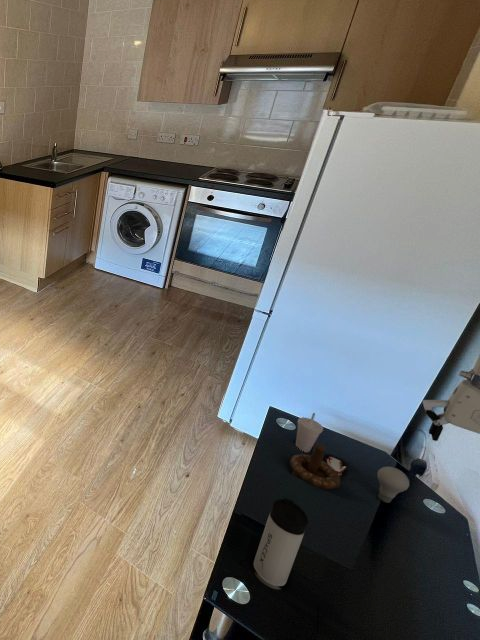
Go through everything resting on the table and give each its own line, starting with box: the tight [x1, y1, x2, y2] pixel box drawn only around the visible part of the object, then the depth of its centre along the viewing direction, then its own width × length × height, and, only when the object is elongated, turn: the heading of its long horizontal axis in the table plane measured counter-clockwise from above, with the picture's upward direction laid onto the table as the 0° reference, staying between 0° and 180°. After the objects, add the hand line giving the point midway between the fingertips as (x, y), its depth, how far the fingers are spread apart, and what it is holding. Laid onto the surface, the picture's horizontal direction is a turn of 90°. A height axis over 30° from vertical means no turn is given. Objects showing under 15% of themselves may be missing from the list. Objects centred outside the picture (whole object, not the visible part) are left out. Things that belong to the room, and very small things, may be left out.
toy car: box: [324, 456, 348, 477], centre depth 124 cm, size 5×8×3 cm, turn 134°
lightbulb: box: [377, 466, 410, 504], centre depth 112 cm, size 6×6×11 cm
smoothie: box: [295, 412, 324, 453], centre depth 130 cm, size 6×6×14 cm
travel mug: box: [253, 497, 309, 591], centre depth 91 cm, size 6×7×20 cm
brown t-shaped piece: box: [291, 443, 328, 491], centre depth 120 cm, size 8×8×11 cm
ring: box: [289, 453, 341, 490], centre depth 121 cm, size 12×12×3 cm
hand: (464, 448), depth 93 cm, fingers open, 9 cm apart
